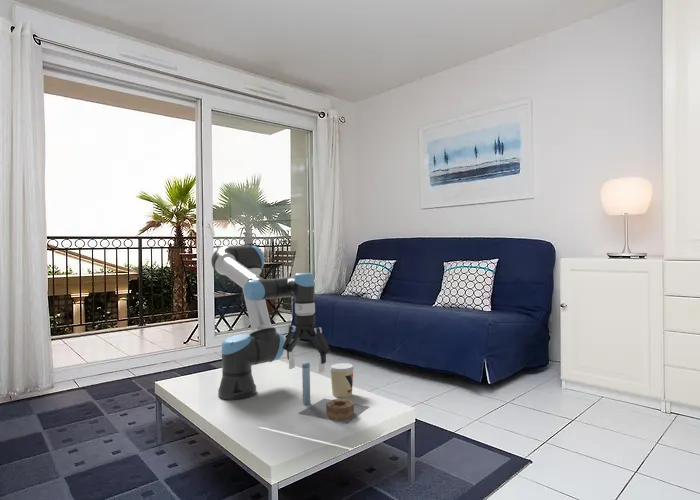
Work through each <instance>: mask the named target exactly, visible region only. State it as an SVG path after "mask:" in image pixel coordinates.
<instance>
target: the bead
mask: <svg viewBox="0 0 700 500" xmlns="http://www.w3.org/2000/svg"><path fill="white" fill-rule="evenodd" d="M330 400H331V401H329V402H327V403H326V414H327V416H328V418H330V419H335V420H344V419H349V418H351V417H352V416H353V415H354V404H355V403H354V402H353V401H352V400H351V399H345V398H336V399H330Z"/></svg>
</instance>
